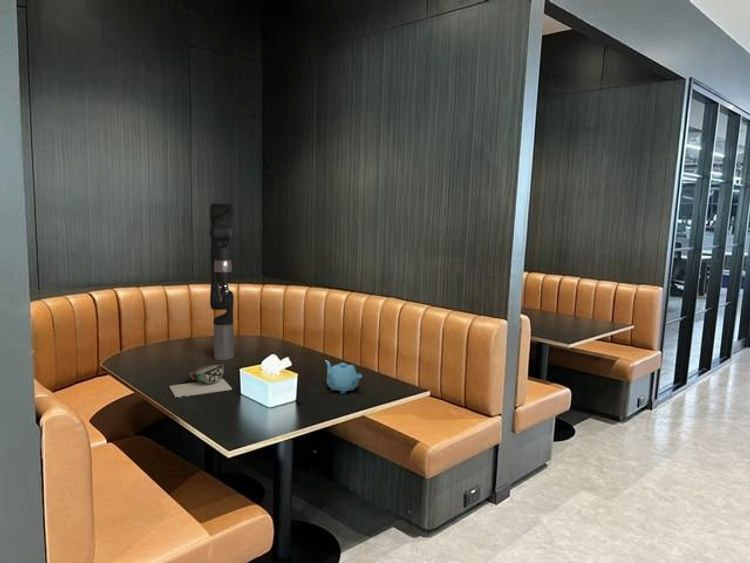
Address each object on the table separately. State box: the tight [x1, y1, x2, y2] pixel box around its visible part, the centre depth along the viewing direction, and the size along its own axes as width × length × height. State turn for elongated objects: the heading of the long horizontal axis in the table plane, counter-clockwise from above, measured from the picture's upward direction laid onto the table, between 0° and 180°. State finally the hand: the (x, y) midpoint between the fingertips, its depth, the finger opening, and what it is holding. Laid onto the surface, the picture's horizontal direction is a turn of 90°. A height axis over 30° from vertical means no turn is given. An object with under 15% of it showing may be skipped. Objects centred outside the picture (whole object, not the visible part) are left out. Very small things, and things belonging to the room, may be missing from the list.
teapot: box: [324, 359, 363, 395], centre depth 225 cm, size 15×14×11 cm
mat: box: [168, 378, 233, 398], centre depth 224 cm, size 14×22×1 cm, turn 120°
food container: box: [188, 363, 225, 384], centre depth 230 cm, size 12×6×10 cm
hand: (223, 309), depth 240 cm, fingers closed
